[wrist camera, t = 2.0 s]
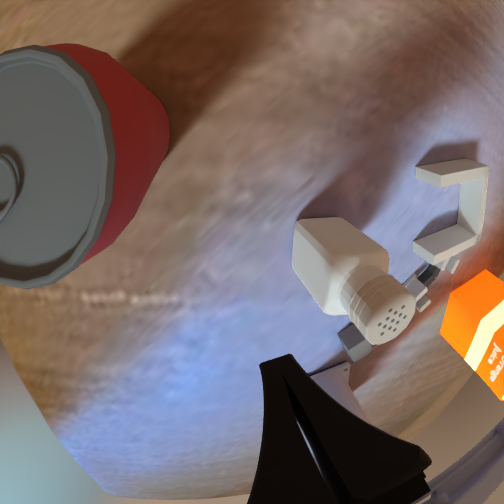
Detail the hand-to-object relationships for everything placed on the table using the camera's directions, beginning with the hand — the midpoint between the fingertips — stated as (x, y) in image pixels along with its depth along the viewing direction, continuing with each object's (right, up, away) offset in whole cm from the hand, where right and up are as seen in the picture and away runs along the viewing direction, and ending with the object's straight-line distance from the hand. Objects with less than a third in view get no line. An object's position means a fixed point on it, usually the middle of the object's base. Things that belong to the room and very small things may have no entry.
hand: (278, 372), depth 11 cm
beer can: (-9, +12, +3) cm, 15 cm away
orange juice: (+29, -2, +20) cm, 35 cm away
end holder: (+17, +10, +11) cm, 22 cm away
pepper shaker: (+3, +6, +9) cm, 12 cm away
